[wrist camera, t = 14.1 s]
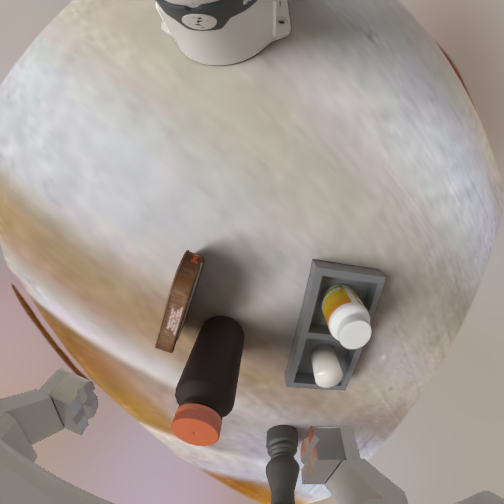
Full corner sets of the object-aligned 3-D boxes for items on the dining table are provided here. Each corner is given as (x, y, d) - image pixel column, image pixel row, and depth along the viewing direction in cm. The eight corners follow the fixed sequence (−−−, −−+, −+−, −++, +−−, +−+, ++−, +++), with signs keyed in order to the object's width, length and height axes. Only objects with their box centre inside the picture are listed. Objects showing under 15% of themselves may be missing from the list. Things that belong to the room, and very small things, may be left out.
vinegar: (218, 306, 42) (184, 401, 22) (253, 333, 43) (242, 435, 23) (192, 334, 43) (151, 427, 24) (226, 358, 44) (203, 457, 25)
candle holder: (279, 421, 48) (279, 534, 24) (303, 431, 48) (311, 537, 24) (260, 435, 49) (254, 541, 25) (284, 445, 50) (285, 545, 26)
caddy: (312, 259, 39) (316, 267, 36) (377, 269, 39) (385, 277, 35) (285, 372, 44) (285, 386, 41) (341, 377, 44) (345, 390, 41)
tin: (191, 242, 39) (173, 260, 31) (212, 251, 40) (199, 270, 31) (165, 327, 43) (147, 357, 35) (183, 335, 44) (168, 366, 36)
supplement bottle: (315, 314, 40) (327, 351, 31) (326, 280, 39) (342, 311, 30) (349, 319, 40) (367, 356, 31) (360, 286, 39) (384, 318, 30)
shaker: (313, 342, 42) (319, 365, 36) (338, 344, 42) (346, 367, 36) (307, 362, 43) (312, 386, 37) (331, 364, 43) (338, 388, 37)
